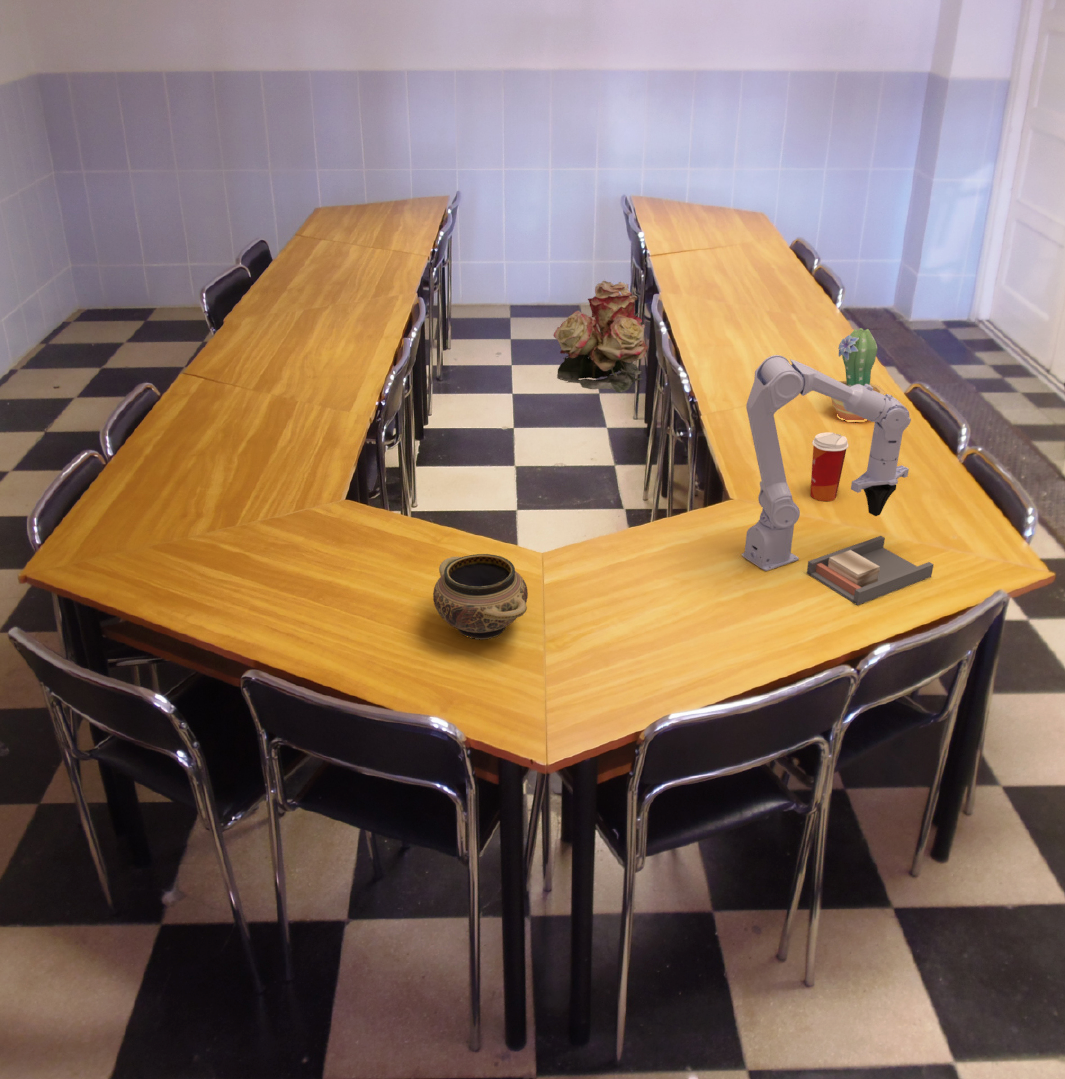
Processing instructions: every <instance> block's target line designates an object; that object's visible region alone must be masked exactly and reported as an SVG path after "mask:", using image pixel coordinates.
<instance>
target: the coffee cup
mask: <svg viewBox="0 0 1065 1079" xmlns="http://www.w3.org/2000/svg"><path fill="white" fill-rule="evenodd" d="M811 442H812V446H813V447H812V448H813V449H812V459H811V460H812V462H811V476H810V477H811V478H810V479H811V480H810V496H811V498H812V499H813V500H815V501H819V502H831V501H834V500H836V498H837V496H838V490H839V486H840V481H841V476H842V473H843V466H844V464H845V463H844V462H845V458H846V452H847V449H848V448H849V443H848V439H847V437H846V436H845V435H841V434H838V433H835V432H826V431H825V432H820V433H818V434H816V435H815V436H814V439H813V440H812V441H811Z"/></svg>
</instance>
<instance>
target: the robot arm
mask: <svg viewBox="0 0 1065 1079" xmlns="http://www.w3.org/2000/svg"><path fill="white" fill-rule="evenodd" d="M789 360H790V361H789ZM789 360H788V359H787V358H786V357H784V356H783V355H778V354H773V355H770V356H768V357H766V358H765V359H764V360H763V361H762V362H761V364H759V366H758V367H757V368H756V369H755V371H754V381H753V383H752V386H751V390H750V392H749V395H748V398H747V401H746V405H745V406H746V413H747V417H748V422H749V427H750V432H751V437H752V441H753V446H754V452H755V456H756V460H757V466H758V470H759V476H760V480H761V481H759V487H760V489H759V494H758V500H757V501H758V503H759V505H760V507H761V508H762V509H761V510H762V511H761V512H760V515H759V520H758V521H757V522H756V523H755V524H753V525H752V526H751V527H749V528H747V531H746V535H745V536H746V537H745V546H744V552H743V553H741V557H743V558H745V559H746V560H747V561H749V562H750V563H752V564H754V566H757V567H758V568H760V569H761V570H763V571H765V572H767V571H771V570H773V569H776V568H779V567H782V566H785V565H788V564H791V563H793V562H796V561H799V559H800V558H799V557H798V556H797V555H796V554H794V553H792V543H793V537H794V528H795V525H796V523H797V522H798V520H799V518H800V516H801V512H800V511H801V510H800V508H799V506H798V505H797V504H796V502H794V499H793V495H792V492H791V490H790V487H789V484H788V482H787V476H786V472H785V467H784V463H783V462H784V461H783V456H782V452H781V446H780V440H779V435H778V432H777V426H776V421H775V414H776V412H777V411H779V410H780V409H781V408H783V407H784V406H786V405H787V404H789V403H790V402H792V401H794V399H796V398H797V397H798V396H799V395H801V396H804V397H805V396H806V395H807V394H809V393H810V392H812V391H814V392H816V393H818V394H821V395H824V396H825V397H829V398H834V399H836V400H839V401H842V402H843V405H844V408H845V410H846V411H849V412H851V413H853V414H855V415H858V416H860V417H862V418H865V419H867V420H868V421H870V422H872V423H874V424H873V430H872V436H871V443H870V448H869V449H870V450H869V455H868V461H867V468H866V471H865V472H864V473H863V474H861V475H860V476H859V477H857V478H856V479H854V480H851V486H850V490H851V491H854V492H855V493H857V494H858V493H861V492H862V490H863V492H864V494H865V497H866V503H867V509H868V510H867V511H868V514H870V515H872V516H874V517H878V516H880V515H881V513H882V512H883V510H884V507H885V505H886V503H887V502H888V500H889V498H890V497H891V495H892V494H893V493H894V492H895V491H896V490H897V484H898V483H899V480H898V479H899V478H907V477H908V475H909V470H910V469H909V467H907V466H904V465H898V464H899V457H900V450H901V445H902V439H903V434H904V431H905V430H906V429H907V428H908V427H909V425H910V424H911V421H912V418H910V412H909V409H907V406H906V407H905V405H904V404H902V403H901V401H900V400H898V399H897V398H895V397H894V396H893V395H892V394H888V393H885V394H884V395H883V394H880V393H878V392H876V391H874V390H873V387H872V386H870V385H868V384H865V385H864V386H863V385H860V384H856V385H853V386H851V387H849V386H847V385H845V384H843V383H841V382H839V380H837V379H835V378H832V377H831V376H829V375H827V374H824V373H823V372H821V371H819V370H816V369H815V368H813V367H811V366H809V365H806V364H804V363H801V362H800V361H797V360H794V359H789ZM790 362H791V364H790Z"/></svg>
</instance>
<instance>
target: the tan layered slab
mask: <svg viewBox="0 0 1065 1079" xmlns="http://www.w3.org/2000/svg"><path fill="white" fill-rule="evenodd" d="M828 563H829V564H828V567H829V568H830V569H832V570H833V571H835V572H837V573H838V574H840V575H842V576H843V577H845V578H847V579H848V580H850V581H852V582H853V583H855V584H857V585H858V586H860V587H864V586H867V585H869V584H872V583H875V582H877V581H878V574H879V571H880V569H879V568H880V566H878V565H876V564H874V563H873V562H871V561H869V560H867V559H866V558H864V557H862V556H860V555H859V554H857V553H855V552H853V551H852V550H849V551H846V552H844V553H841V554H838V555H835V556H832V557H829V562H828Z"/></svg>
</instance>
